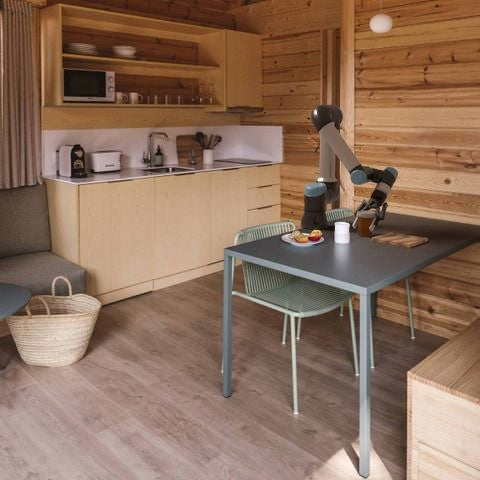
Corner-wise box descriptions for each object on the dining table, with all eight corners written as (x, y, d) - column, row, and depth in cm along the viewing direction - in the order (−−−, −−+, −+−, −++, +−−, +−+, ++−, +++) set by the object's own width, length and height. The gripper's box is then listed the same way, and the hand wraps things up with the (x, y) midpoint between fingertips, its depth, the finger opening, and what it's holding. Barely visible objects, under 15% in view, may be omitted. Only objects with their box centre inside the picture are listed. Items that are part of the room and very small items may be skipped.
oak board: (371, 241, 268) (371, 238, 267) (390, 235, 280) (390, 232, 280) (409, 247, 254) (409, 244, 254) (427, 241, 266) (427, 238, 266)
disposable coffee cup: (362, 238, 274) (363, 214, 271) (351, 234, 283) (352, 211, 280) (378, 236, 278) (379, 212, 275) (367, 232, 286) (368, 209, 284)
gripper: (402, 200, 279) (383, 236, 272) (364, 196, 294) (346, 229, 287) (397, 190, 275) (378, 227, 267) (359, 187, 290) (341, 221, 282)
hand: (362, 228), depth 277 cm, fingers open, 9 cm apart
